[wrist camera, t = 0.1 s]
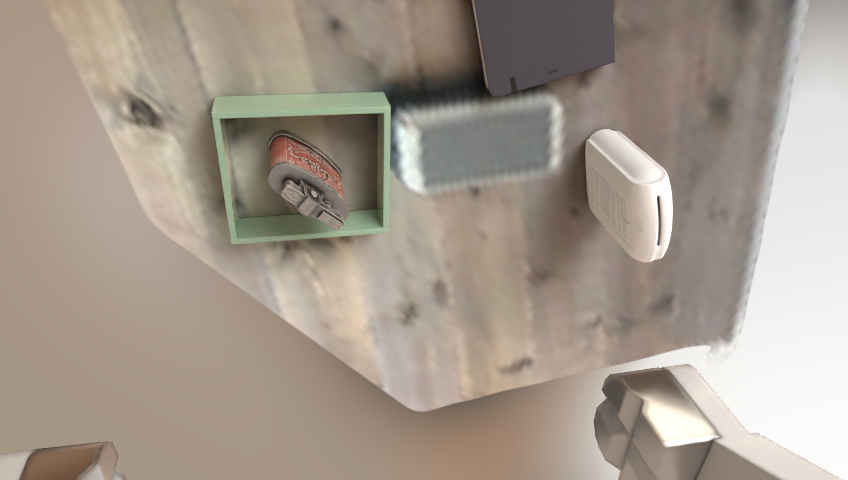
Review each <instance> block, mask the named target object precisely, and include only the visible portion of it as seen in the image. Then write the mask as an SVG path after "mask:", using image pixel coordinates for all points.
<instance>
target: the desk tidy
mask: <svg viewBox="0 0 848 480" xmlns="http://www.w3.org/2000/svg"><path fill="white" fill-rule="evenodd" d="M390 112H391V107H390V105H389V102H388V100H387V98H386V96H385V94H384V92H363V93H326V94H289V95H252V96H216V97H215V98H214V103H213V107H212V112H211V115H212V121H213V128H214V134H215V141H216V147H217V154H218V161H219V167H220V174H221V180H222V187H223V193H224V200H225V207H226V213H227V220H228V226H229V233H230V239H231V244H245V243H259V242H272V241H286V240H299V239H312V238H326V237H339V236H353V235H366V234H380V233H389V183H390ZM370 113H378V137H377V209H371V210H355V211H349V216H348V217H347V219H346V220H345V221H344V226H343V227H342V228H341V229H340V230H338V231H335V230H333V229H332V228H330V227H328V226H327V225H325V224H324V223H322V222H321V221H319V220H317V219H314V218H312V217H310V216H304V215H303V214H295V215H280V216H265V217H249V218H239V216H238V209H237V202H236V195H235V188H234V180H233V173H232V166H231V159H230V152H229V145H228V138H227V131H226V123H225V118H253V117H282V116H311V115H341V114H370Z"/></svg>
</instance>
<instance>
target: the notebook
mask: <svg viewBox="0 0 848 480" xmlns="http://www.w3.org/2000/svg"><path fill="white" fill-rule="evenodd" d="M470 2H471V7H472V13H473V19H474V25H475V31H476V37H477V43H478V49H479V55H480V61H481V67H482V72H483V78H484V84H485V88H486V89H487V91H488V92H490V94H491V95H492V96H494V97H500V96H503V95H507V94H510V93H514V92H517V91H520V90H523V89H527V88H530V87H533V86H537V85H540V84H543V83H547V82H550V81H553V80H557V79H560V78H563V77H567V76H570V75H573V74H577V73H580V72H583V71H587V70H590V69H593V68H597V67H600V66H603V65H607V64H610V63H613V62H615V50H614V23H613V0H470Z"/></svg>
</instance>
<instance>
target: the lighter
mask: <svg viewBox="0 0 848 480" xmlns="http://www.w3.org/2000/svg"><path fill="white" fill-rule="evenodd" d="M268 149H269V152H270V170H269V173H268V182H269V185H270V186H271V188H272V189H273V190H275V191H276V192H277V193H278V194H279V195H280V196H281V197H282V198H283V199H284V200H286V201H287V202H288V203H290V204H291V205H292V206H294V207H295V208H296V209H297V210H298V211H299V212H300V213H301V214H303V215H304V216H310V217H312V218H314V219H317V220H319V221H321V222H322V223H324V224H325V225H327V226H328V227H330V228H332V229H333V230H335V231H338V230H340V229H341V228H342V227H343V226H344V221H345V220H346V219H347V217H348V216H349V205H348V203H347V201H346V200H345V197H344V192H343V187H342V173H341V170H340V168H339V167H338V166H337V165H336V164H335V163H334V162H333V161H332V160H331V159H330V158H329V157H328V156H327V155H326V154H324V153H323V152H322V151H321V150H320V149H318V148H317V147H316V146H314V145H312V144H311V143H309V142H308V141H306V140H304V139H303V138H301V137H299V136H296V135H294V134H292V133H290V132H288V131H284V130H283V131H278V132H275V133H274V134H273V135H272V136H271V137H270V139H269V143H268Z"/></svg>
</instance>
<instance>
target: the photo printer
mask: <svg viewBox="0 0 848 480" xmlns="http://www.w3.org/2000/svg"><path fill="white" fill-rule="evenodd" d="M585 163H586V182H587V196H588V203H589V207H590V210H591V211H592V213H593V214H594V215H595V216H596V218H597V219H598V220H599V221H600V222H601V223H602V224H603V225H604V227H605V228H606V229H607V230H608V231H609V232H610V234H611V235H612V236H613V237H614V238H615V239H616V240H617V242H618V243H619V244H620V245H621V246H622V247H623V248H624V250H625V251H626V252H627V253H628V254H629V255H630V256H631V257H632V258H634V259H636V260H638V261H642V262H651V261H653V260H656V259H661V258H662V257H663V255H664V254H665V252H666V250H667V247H668V244H669V241H670V236H671V230H672V215H673V208H672V193H671V186H670V181H669V178H668V175H667V173H666V171H665V169H664V168H663V167H661V166H660V165H659V164H658V163H657V162H655V161H654V160H653V159H652V158H651V157H649V156H648V155H647V154H646V153H645V152H644V151H642V150H641V149H640V148H639V147H637V146H636V145H635V144H634V143H633V142H631V141H630V140H629V139H628V138H627V137H625V136H624V135H623V134H622V133H620V132H619V131H612V130H610V129H602V130H599V131H597V132H595V133H594V134H592V135H591V136H590V137H589V139H587V141H586V147H585Z"/></svg>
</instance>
